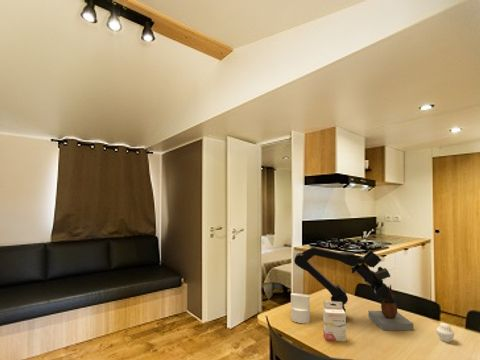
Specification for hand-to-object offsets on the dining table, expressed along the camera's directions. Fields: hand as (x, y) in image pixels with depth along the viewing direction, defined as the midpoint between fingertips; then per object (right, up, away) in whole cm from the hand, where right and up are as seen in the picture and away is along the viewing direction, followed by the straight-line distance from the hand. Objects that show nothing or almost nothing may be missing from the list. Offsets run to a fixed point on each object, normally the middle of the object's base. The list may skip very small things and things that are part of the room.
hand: (392, 298), depth 133 cm
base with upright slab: (-43, -12, +4) cm, 45 cm away
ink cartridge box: (-32, -11, -14) cm, 37 cm away
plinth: (-1, -12, 0) cm, 12 cm away
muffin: (+14, -11, -16) cm, 24 cm away
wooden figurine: (-2, -9, 0) cm, 9 cm away
